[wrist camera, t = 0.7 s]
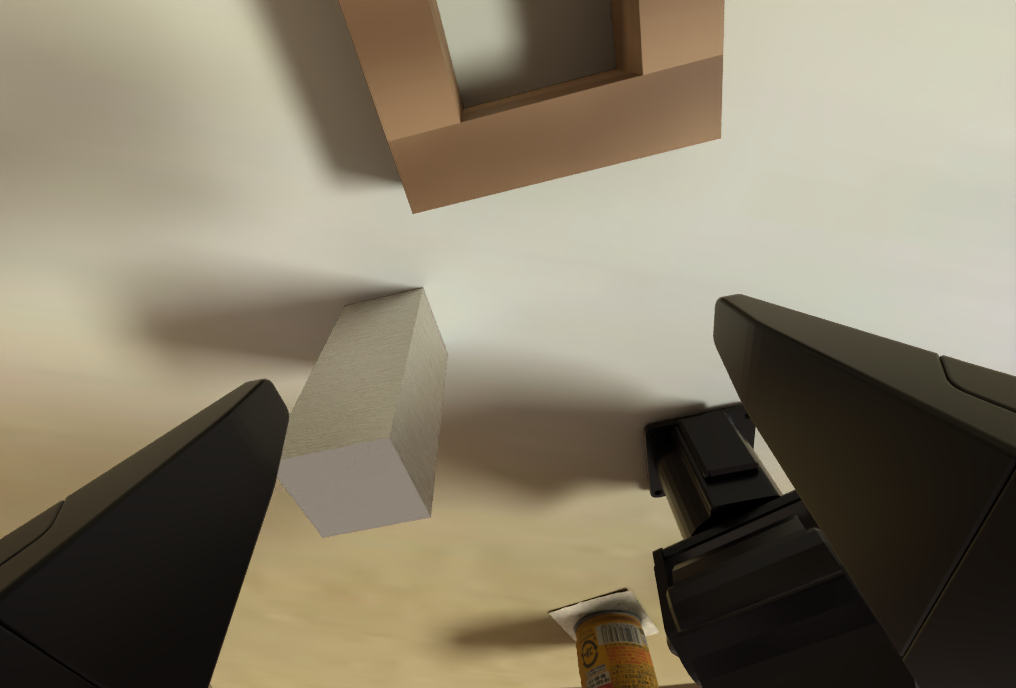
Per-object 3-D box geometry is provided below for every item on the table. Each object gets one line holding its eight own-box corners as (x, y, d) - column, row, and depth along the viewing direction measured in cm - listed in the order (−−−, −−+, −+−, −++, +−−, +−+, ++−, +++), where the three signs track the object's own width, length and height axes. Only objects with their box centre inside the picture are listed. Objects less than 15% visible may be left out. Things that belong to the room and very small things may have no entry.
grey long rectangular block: (447, 353, 25) (430, 517, 16) (375, 369, 25) (322, 537, 17) (423, 287, 22) (389, 437, 14) (344, 305, 23) (266, 462, 14)
